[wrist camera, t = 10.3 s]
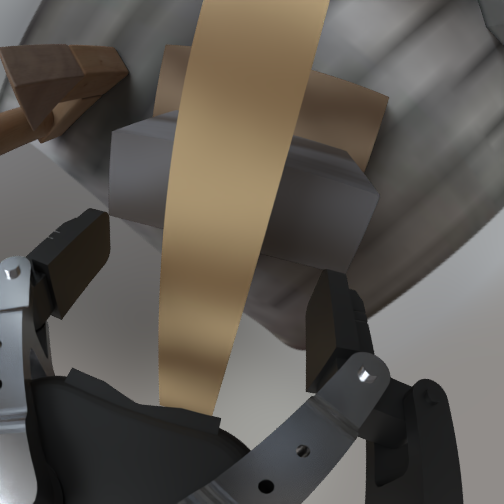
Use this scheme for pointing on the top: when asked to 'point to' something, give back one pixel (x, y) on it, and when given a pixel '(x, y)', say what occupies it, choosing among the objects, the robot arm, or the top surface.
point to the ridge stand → (293, 176)
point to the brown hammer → (54, 88)
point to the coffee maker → (494, 17)
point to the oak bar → (226, 180)
